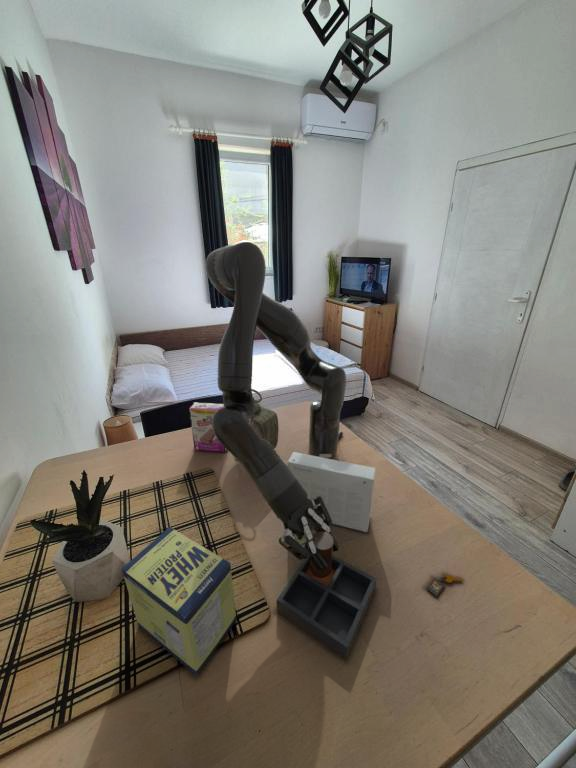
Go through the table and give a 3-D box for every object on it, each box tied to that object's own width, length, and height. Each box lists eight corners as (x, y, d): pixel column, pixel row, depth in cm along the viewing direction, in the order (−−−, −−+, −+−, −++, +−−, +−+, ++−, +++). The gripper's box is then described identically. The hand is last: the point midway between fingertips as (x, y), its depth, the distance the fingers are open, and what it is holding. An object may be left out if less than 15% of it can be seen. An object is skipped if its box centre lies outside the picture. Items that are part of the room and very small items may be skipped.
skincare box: (369, 517, 84) (376, 467, 78) (367, 533, 79) (374, 481, 73) (292, 497, 90) (293, 450, 84) (286, 512, 86) (286, 462, 79)
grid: (313, 556, 74) (313, 545, 72) (374, 590, 66) (376, 578, 65) (276, 611, 62) (276, 599, 61) (346, 660, 55) (347, 647, 54)
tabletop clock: (230, 457, 107) (224, 388, 97) (247, 444, 114) (243, 378, 104) (265, 472, 100) (263, 400, 90) (281, 457, 107) (281, 388, 97)
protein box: (179, 579, 68) (168, 525, 62) (238, 619, 61) (232, 562, 55) (136, 626, 60) (118, 568, 54) (197, 678, 53) (186, 618, 47)
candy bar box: (193, 451, 110) (188, 408, 104) (199, 442, 115) (193, 401, 108) (226, 453, 109) (222, 410, 103) (229, 444, 114) (226, 403, 107)
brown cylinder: (316, 555, 70) (317, 527, 67) (334, 565, 68) (337, 537, 64) (306, 570, 66) (307, 542, 63) (325, 582, 64) (327, 553, 61)
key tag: (434, 597, 65) (435, 595, 65) (422, 584, 67) (423, 583, 67) (462, 580, 68) (463, 578, 68) (450, 568, 71) (450, 566, 70)
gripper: (269, 504, 58) (326, 586, 57) (309, 463, 69) (357, 530, 68) (247, 514, 63) (300, 590, 61) (288, 474, 74) (333, 537, 72)
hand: (330, 558), depth 65 cm, fingers closed on brown cylinder, 4 cm apart
